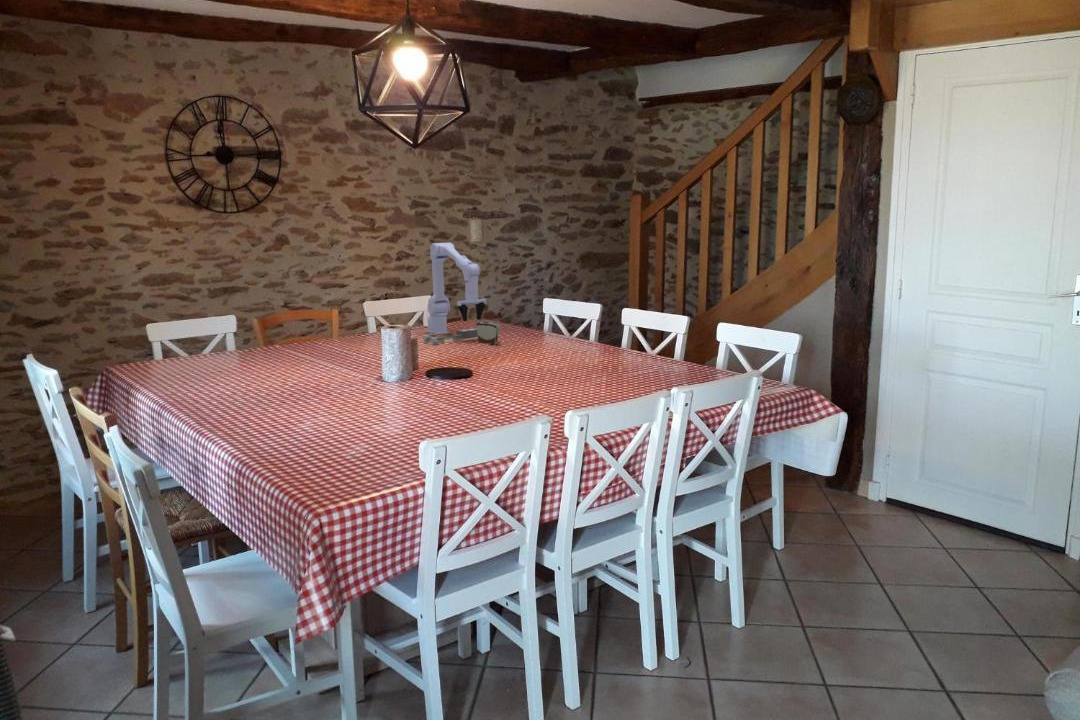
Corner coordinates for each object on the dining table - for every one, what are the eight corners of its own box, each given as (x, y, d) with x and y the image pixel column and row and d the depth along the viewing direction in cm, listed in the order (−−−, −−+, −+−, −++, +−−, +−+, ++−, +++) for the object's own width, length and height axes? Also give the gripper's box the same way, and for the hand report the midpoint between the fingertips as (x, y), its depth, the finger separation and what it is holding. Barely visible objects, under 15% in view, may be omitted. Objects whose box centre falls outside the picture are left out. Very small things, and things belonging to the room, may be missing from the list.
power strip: (456, 337, 391) (456, 330, 390) (481, 334, 399) (481, 327, 398) (461, 339, 387) (461, 331, 386) (486, 336, 396) (486, 328, 395)
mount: (421, 342, 382) (420, 335, 381) (480, 334, 402) (480, 328, 402) (432, 345, 374) (432, 338, 374) (492, 337, 395) (492, 331, 394)
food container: (505, 343, 380) (505, 322, 378) (497, 346, 375) (497, 324, 373) (483, 341, 386) (483, 319, 384) (475, 343, 381) (475, 321, 379)
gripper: (463, 292, 372) (463, 322, 375) (489, 290, 381) (489, 319, 383) (454, 291, 377) (454, 320, 380) (481, 288, 386) (481, 317, 389)
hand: (471, 320), depth 382 cm, fingers open, 7 cm apart
